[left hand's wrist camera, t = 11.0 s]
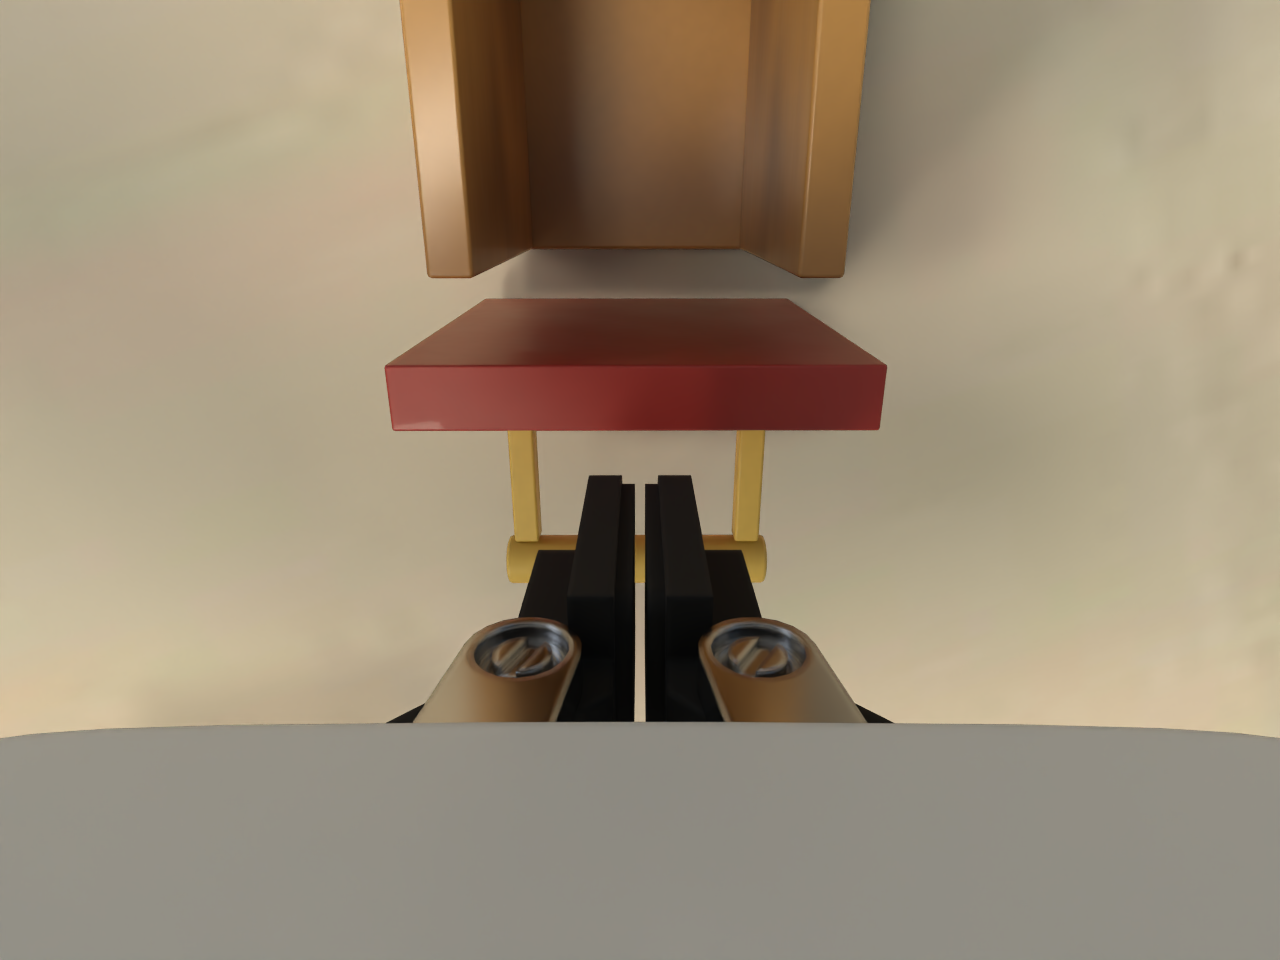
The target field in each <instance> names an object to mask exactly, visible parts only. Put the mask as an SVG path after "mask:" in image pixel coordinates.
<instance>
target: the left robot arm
mask: <svg viewBox="0 0 1280 960" xmlns="http://www.w3.org/2000/svg"><path fill="white" fill-rule="evenodd" d="M634 704H635V484H622V475H589V479H588V484H587V489H586V495H585V500H584V505H583V511H582V516H581V522H580V527H579V532H578V538H577V543H576V549H575V550H538V552H537V555H536V559H535V562H534V565H533V569H532V572H531V576H530V579H529V583H528V586H527V589H526V593H525V596H524V600H523V603H522V607H521V610H520V613H519V617H518V618H515V619H509V620H503V621H500V622H498V623H495V624H492V625H489V626H487V627H485V628H483V629H482V630H480V631H478V632H477V633H475V634H474V635H473V636H472V637H471V638H470V639H469V640H468V641H467V642H466V643H465V644H464V646H463V647H462V649H461V650H460V652H459V653H458V655H457V656H456V658H455V659H454V661H453V662H452V664H451V665H450V667H449V668H448V670H447V671H446V673H445V674H444V676H443V677H442V679H441V680H440V682H439V683H438V685H437V686H436V688H435V689H434V691H433V693H432V694H431V696H430V697H429V699H428V700H427V702H426V703H425V704H423V705H421V706H419V707H417V708H415V709H413V710H411V711H409V712H407V713H405V714H403V715H401V716H399V717H397V718H395V719H393V720H391V721H389V722H387V723H376V724H283V725H215V726H183V727H151V728H118V729H97V730H83V731H68V732H54V733H40V734H30V735H22V736H15V737H7V738H0V960H1280V738H1274V737H1265V736H1257V735H1249V734H1240V733H1229V732H1213V731H1197V730H1181V729H1164V728H1132V727H1095V726H1058V725H1017V724H900V723H893V722H891V721H889V720H887V719H885V718H883V717H881V716H879V715H877V714H875V713H873V712H871V711H869V710H867V709H865V708H863V707H861V706H859V705H857V704H855V703H854V702H853V700H852V699H851V697H850V696H849V694H848V693H847V691H846V689H845V688H844V686H843V685H842V683H841V682H840V680H839V679H838V677H837V676H836V674H835V673H834V671H833V670H832V668H831V667H830V665H829V664H828V662H827V661H826V659H825V658H824V656H823V655H822V653H821V652H820V650H819V649H818V647H817V646H816V644H815V643H814V642H813V641H812V640H811V639H810V638H809V637H808V636H807V635H806V634H805V633H803V632H802V631H800V630H798V629H797V628H795V627H793V626H791V625H788V624H785V623H782V622H780V621H777V620H771V619H765V618H762V617H761V613H760V610H759V607H758V603H757V600H756V596H755V593H754V589H753V586H752V583H751V579H750V576H749V572H748V569H747V565H746V562H745V559H744V555H743V552H742V550H705V549H704V543H703V538H702V532H701V527H700V522H699V516H698V511H697V505H696V500H695V495H694V489H693V484H692V479H691V475H658V484H645V705H646V722H634Z"/></svg>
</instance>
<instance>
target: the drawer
mask: <svg viewBox="0 0 1280 960" xmlns="http://www.w3.org/2000/svg"><path fill="white" fill-rule="evenodd" d="M870 3H871V0H400V10H401V20H402V30H403V40H404V49H405V59H406V69H407V79H408V89H409V99H410V108H411V118H412V128H413V138H414V148H415V158H416V167H417V177H418V187H419V197H420V207H421V217H422V226H423V236H424V246H425V256H426V266H427V274H428V276H429V277H431V278H472V277H474V276H476V275H478V274H480V273H482V272H484V271H487V270H489V269H491V268H493V267H495V266H497V265H499V264H501V263H503V262H505V261H507V260H509V259H512V258H514V257H516V256H518V255H520V254H522V253H524V252H526V251H528V250H530V249H742V250H745V251H747V252H749V253H751V254H753V255H755V256H757V257H759V258H761V259H763V260H765V261H767V262H769V263H771V264H773V265H775V266H778V267H780V268H782V269H784V270H786V271H788V272H790V273H792V274H794V275H796V276H798V277H800V278H840V277H843V275H844V270H845V260H846V250H847V239H848V229H849V219H850V209H851V198H852V188H853V178H854V168H855V157H856V147H857V137H858V126H859V116H860V106H861V96H862V85H863V75H864V65H865V55H866V44H867V34H868V24H869V14H870ZM886 372H887V365H886V364H884V363H883V362H881V361H880V360H878V359H877V358H875V357H874V356H872V355H871V354H869V353H868V352H866V351H865V350H863V349H862V348H860V347H859V346H857V345H856V344H854V343H853V342H851V341H850V340H848V339H847V338H845V337H844V336H842V335H841V334H839V333H838V332H836V331H835V330H833V329H832V328H830V327H829V326H827V325H826V324H824V323H823V322H821V321H820V320H818V319H817V318H815V317H814V316H812V315H811V314H809V313H808V312H806V311H805V310H803V309H802V308H800V307H799V306H797V305H796V304H794V303H793V302H791V301H790V300H788V299H485V300H483V301H482V302H480V303H479V304H477V305H476V306H474V307H473V308H471V309H470V310H468V311H467V312H465V313H464V314H462V315H461V316H459V317H458V318H456V319H455V320H453V321H452V322H450V323H449V324H447V325H446V326H444V327H443V328H441V329H440V330H438V331H437V332H435V333H434V334H432V335H431V336H429V337H428V338H426V339H425V340H423V341H422V342H420V343H418V344H417V345H415V346H414V347H412V348H411V349H409V350H408V351H406V352H405V353H403V354H402V355H400V356H399V357H397V358H396V359H394V360H393V361H391V362H390V363H388V364H387V365H385V375H386V383H387V391H388V398H389V406H390V414H391V422H392V429H393V430H394V431H508V444H509V459H510V473H511V488H512V503H513V517H514V532H515V535H513V536H511V537H510V539H509V542H508V547H507V574H508V578H509V581H510V582H512V583H529V579H530V576H531V572H532V569H533V565H534V562H535V559H536V555H537V552H538V550H575V549H576V543H577V538H578V535H541V531H542V529H541V510H540V492H539V473H538V454H537V436H536V431H660V430H737V436H736V456H735V476H734V496H733V516H732V533H733V535H702V538H703V543H704V549H705V550H742V552H743V555H744V559H745V562H746V565H747V569H748V572H749V576H750V579H751V582H762V581H764V579H765V576H766V569H767V552H766V544H765V540H764V538H763V536H761V535H759V520H760V504H761V489H762V473H763V458H764V442H765V430H879V428H880V421H881V413H882V405H883V396H884V388H885V380H886ZM635 583H645V535H635Z"/></svg>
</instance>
